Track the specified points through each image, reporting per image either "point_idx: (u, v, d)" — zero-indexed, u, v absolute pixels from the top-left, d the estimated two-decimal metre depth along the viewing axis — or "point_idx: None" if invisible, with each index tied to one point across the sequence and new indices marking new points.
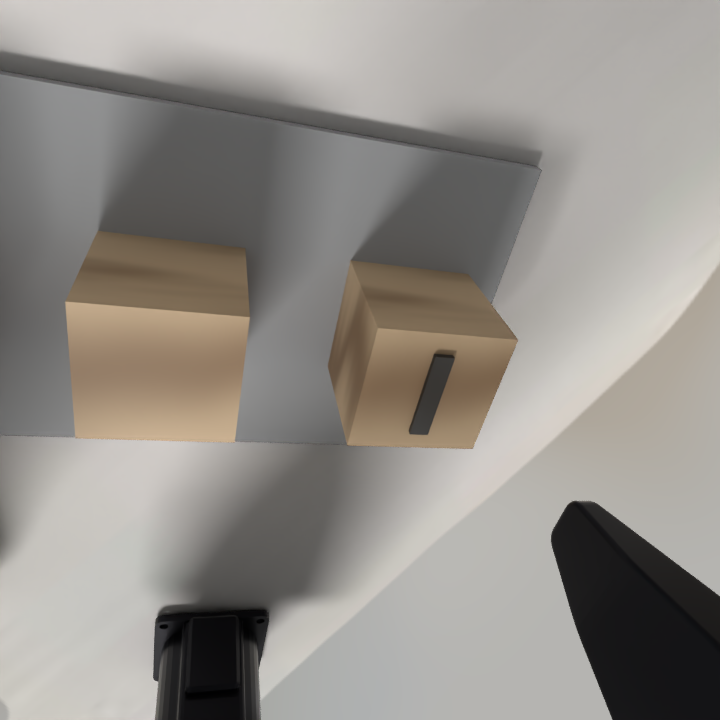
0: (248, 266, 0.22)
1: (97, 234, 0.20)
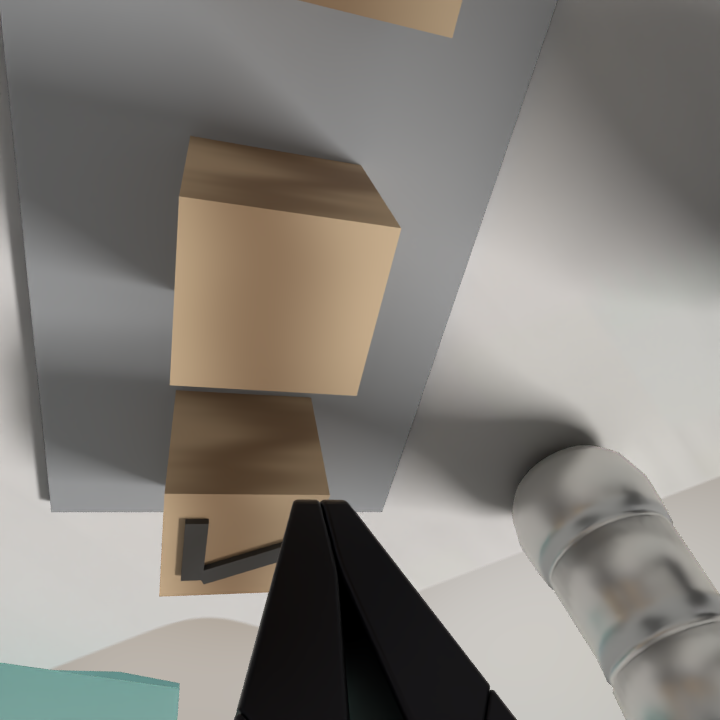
0: (217, 133, 0.16)
1: None
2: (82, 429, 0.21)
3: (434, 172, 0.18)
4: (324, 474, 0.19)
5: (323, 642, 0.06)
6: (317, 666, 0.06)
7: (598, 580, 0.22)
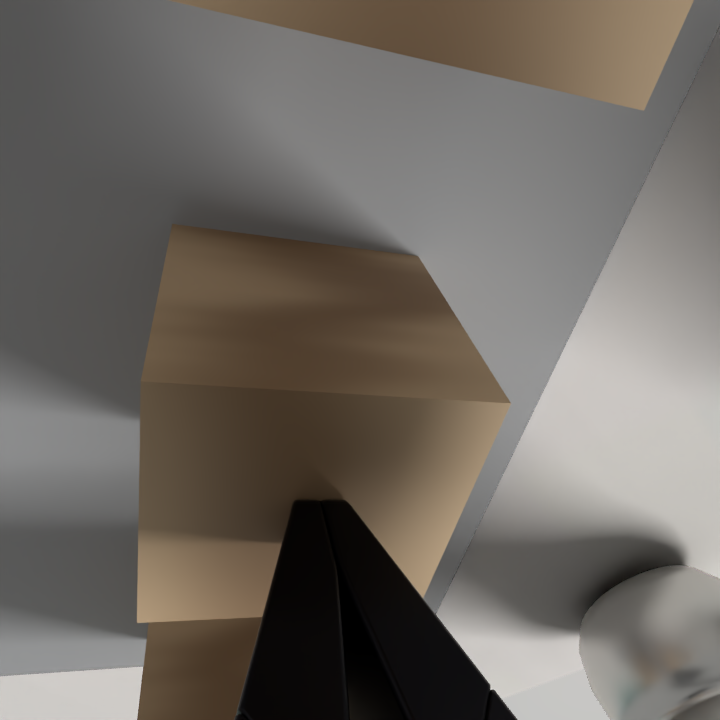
0: (212, 219, 0.11)
1: None
2: (34, 586, 0.16)
3: (519, 262, 0.13)
4: None
5: (323, 642, 0.06)
6: (317, 666, 0.06)
7: None
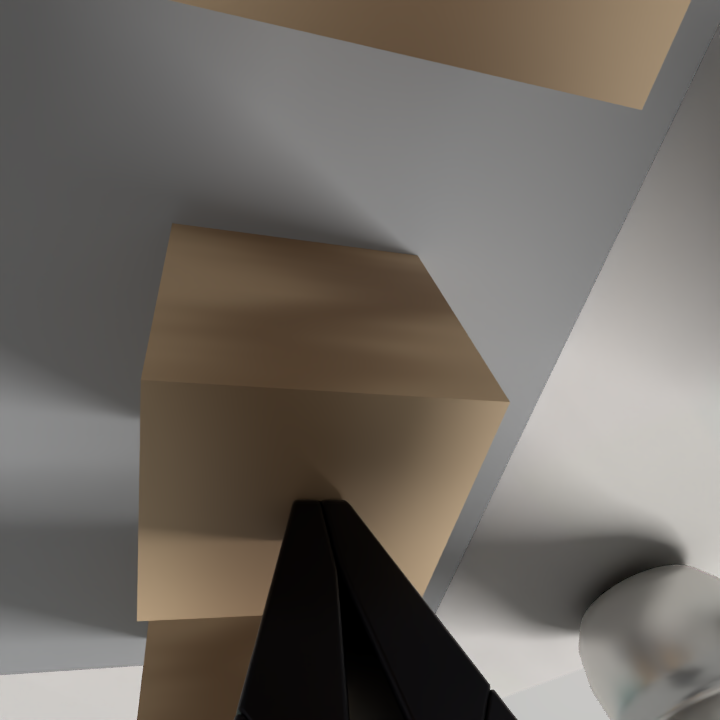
0: (212, 219, 0.11)
1: None
2: (34, 585, 0.16)
3: (518, 261, 0.13)
4: None
5: (323, 642, 0.06)
6: (317, 666, 0.06)
7: None
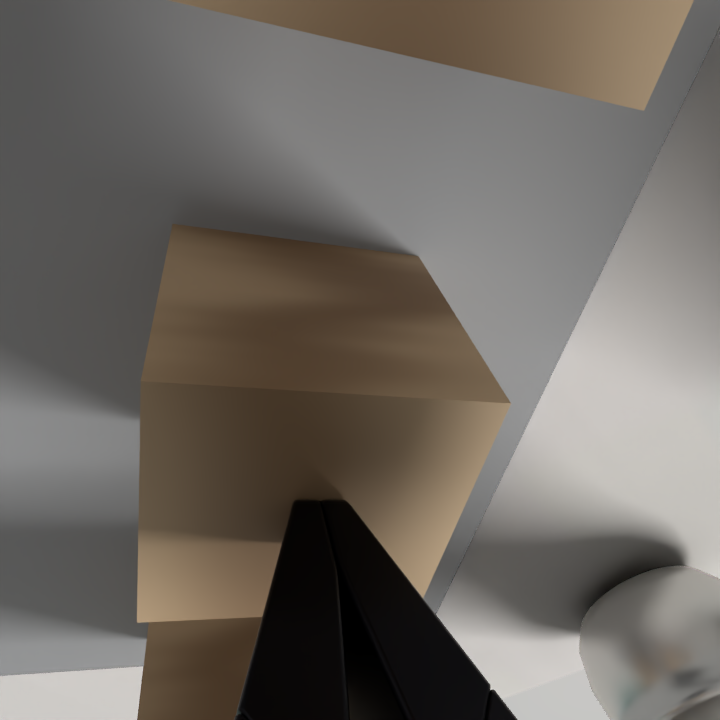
0: (212, 219, 0.11)
1: None
2: (35, 586, 0.16)
3: (519, 262, 0.13)
4: None
5: (323, 642, 0.06)
6: (317, 666, 0.06)
7: None
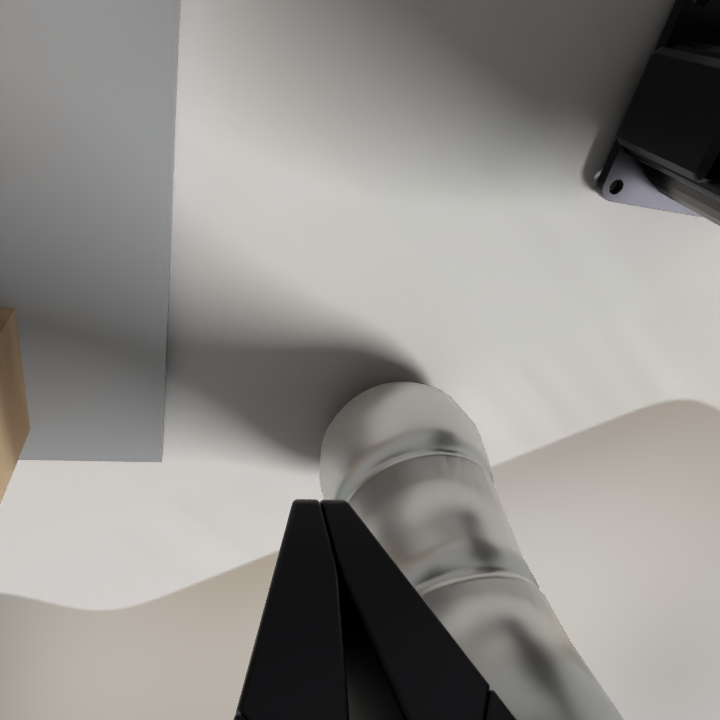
0: None
1: None
2: None
3: None
4: None
5: (323, 642, 0.06)
6: (317, 666, 0.06)
7: (372, 532, 0.18)
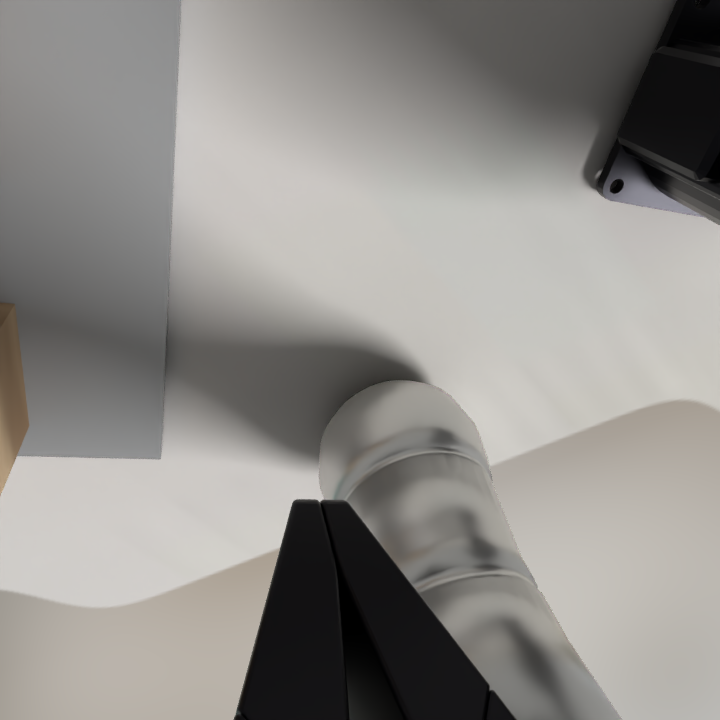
0: None
1: None
2: None
3: None
4: None
5: (323, 642, 0.06)
6: (317, 666, 0.06)
7: (370, 530, 0.18)
